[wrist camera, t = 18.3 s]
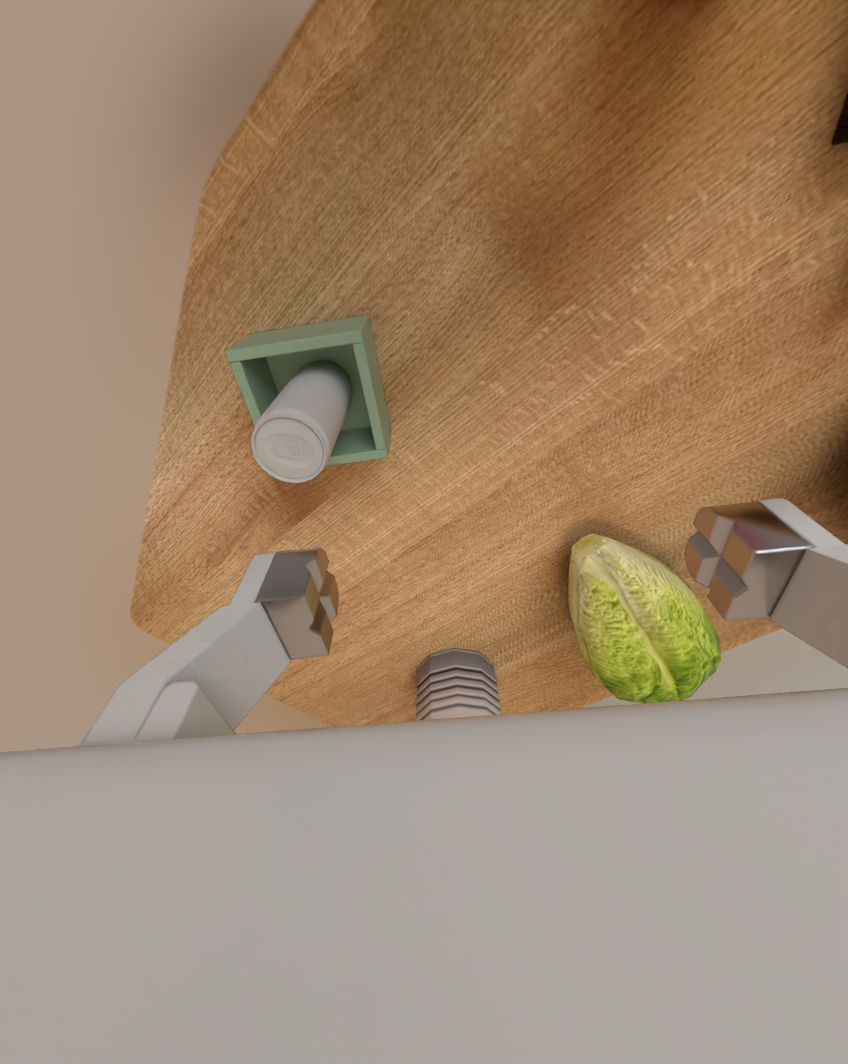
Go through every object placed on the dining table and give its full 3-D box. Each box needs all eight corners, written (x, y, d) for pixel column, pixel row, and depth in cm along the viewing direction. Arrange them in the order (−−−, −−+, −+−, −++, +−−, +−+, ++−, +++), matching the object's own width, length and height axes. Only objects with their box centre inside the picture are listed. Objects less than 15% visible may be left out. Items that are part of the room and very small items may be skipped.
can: (463, 636, 55) (472, 724, 46) (511, 675, 61) (528, 761, 51) (398, 670, 60) (394, 757, 50) (448, 704, 65) (453, 789, 55)
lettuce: (690, 505, 37) (586, 617, 34) (759, 657, 45) (680, 756, 43) (581, 491, 48) (499, 574, 46) (653, 614, 57) (586, 689, 55)
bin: (249, 333, 34) (224, 350, 29) (368, 314, 33) (360, 329, 28) (289, 444, 39) (273, 473, 35) (391, 430, 38) (388, 458, 34)
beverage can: (348, 421, 37) (323, 492, 28) (292, 408, 37) (247, 475, 27) (357, 366, 35) (333, 424, 25) (297, 351, 34) (249, 403, 24)
